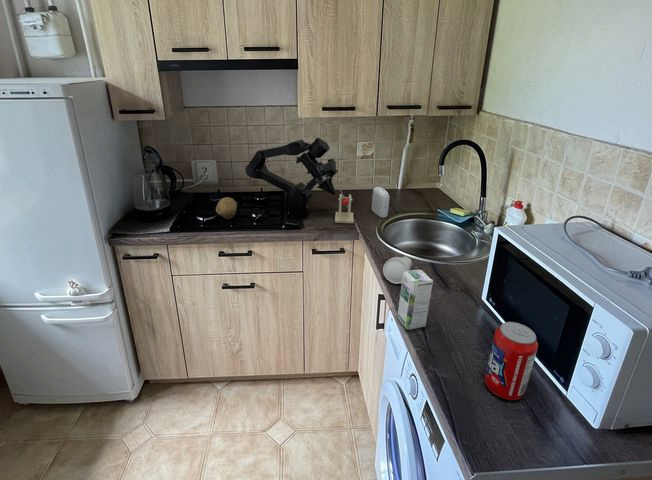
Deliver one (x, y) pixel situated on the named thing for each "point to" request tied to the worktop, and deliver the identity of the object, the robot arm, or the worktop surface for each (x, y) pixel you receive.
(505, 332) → the soda can
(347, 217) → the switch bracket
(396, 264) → the spotlight
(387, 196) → the photo printer
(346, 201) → the switch lever
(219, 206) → the natural sponge
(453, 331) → the worktop surface
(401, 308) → the syrup box
